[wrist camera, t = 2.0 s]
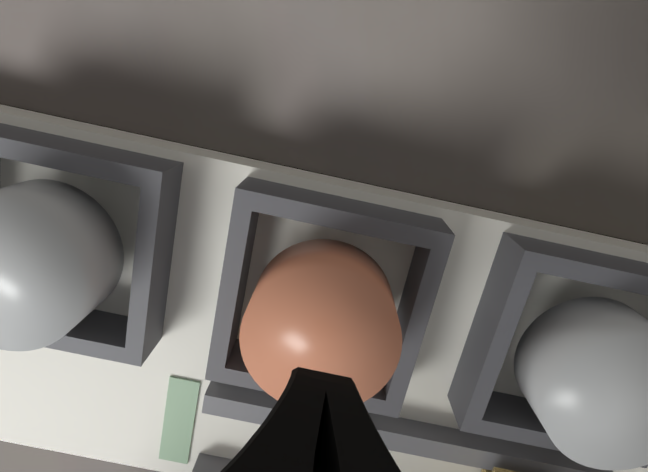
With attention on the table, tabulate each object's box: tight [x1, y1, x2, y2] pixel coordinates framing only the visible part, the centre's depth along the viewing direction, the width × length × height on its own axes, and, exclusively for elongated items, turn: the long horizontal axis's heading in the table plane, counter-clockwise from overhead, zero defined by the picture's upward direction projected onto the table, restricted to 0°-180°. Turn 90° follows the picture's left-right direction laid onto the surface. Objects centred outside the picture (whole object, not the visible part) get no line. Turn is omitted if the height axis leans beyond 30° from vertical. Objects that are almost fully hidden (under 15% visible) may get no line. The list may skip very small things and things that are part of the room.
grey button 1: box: [514, 297, 648, 471], centre depth 15 cm, size 5×5×2 cm
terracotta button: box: [239, 239, 402, 402], centre depth 14 cm, size 5×5×2 cm
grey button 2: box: [0, 179, 124, 351], centre depth 14 cm, size 5×5×2 cm
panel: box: [0, 104, 648, 472], centre depth 18 cm, size 14×32×4 cm, turn 78°
